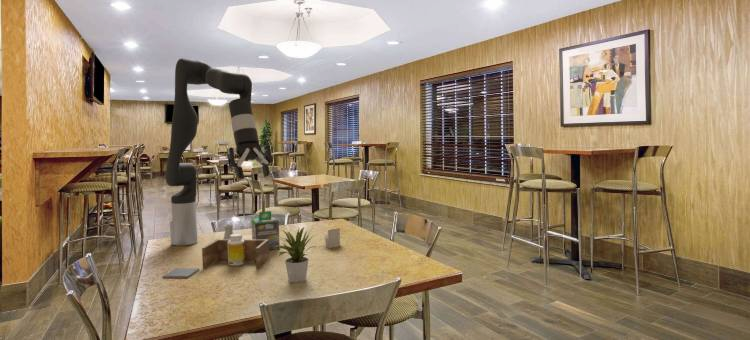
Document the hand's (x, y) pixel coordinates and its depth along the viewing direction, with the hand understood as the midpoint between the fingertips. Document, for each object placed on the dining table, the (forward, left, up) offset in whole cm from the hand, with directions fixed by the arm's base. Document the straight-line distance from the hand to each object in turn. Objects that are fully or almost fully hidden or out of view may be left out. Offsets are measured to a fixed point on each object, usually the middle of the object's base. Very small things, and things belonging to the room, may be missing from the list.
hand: (254, 177), depth 141 cm
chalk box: (-5, +27, -31) cm, 41 cm away
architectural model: (+21, +30, -31) cm, 48 cm away
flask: (-18, +23, -31) cm, 42 cm away
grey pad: (-23, -5, -30) cm, 38 cm away
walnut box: (-9, +6, -30) cm, 32 cm away
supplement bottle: (-9, +6, -31) cm, 32 cm away
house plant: (+15, -9, -31) cm, 35 cm away
